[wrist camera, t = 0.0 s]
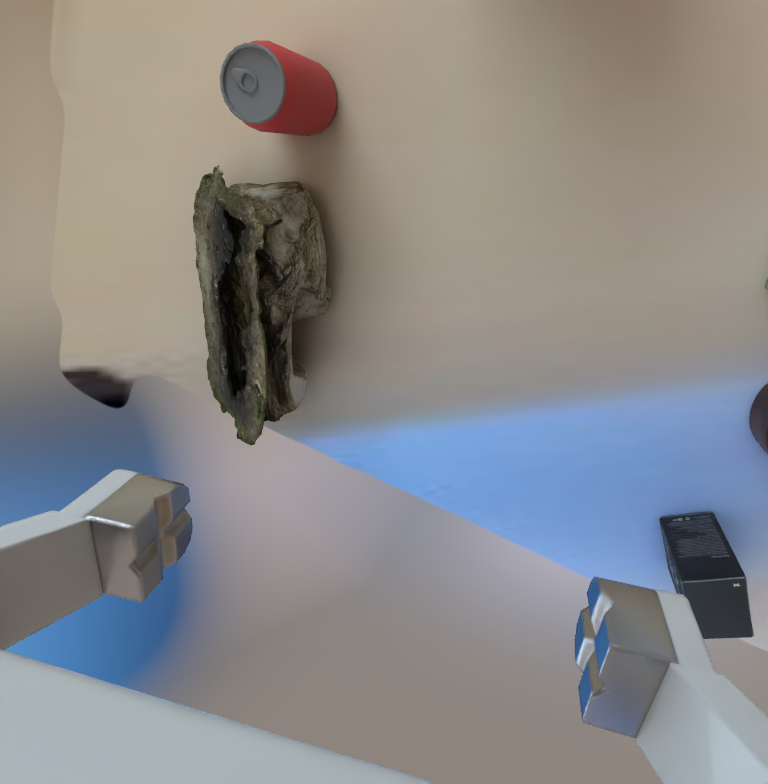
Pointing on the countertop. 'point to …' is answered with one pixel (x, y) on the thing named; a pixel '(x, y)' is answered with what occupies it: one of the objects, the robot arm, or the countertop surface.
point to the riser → (760, 418)
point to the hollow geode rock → (257, 293)
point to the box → (707, 574)
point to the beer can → (277, 89)
